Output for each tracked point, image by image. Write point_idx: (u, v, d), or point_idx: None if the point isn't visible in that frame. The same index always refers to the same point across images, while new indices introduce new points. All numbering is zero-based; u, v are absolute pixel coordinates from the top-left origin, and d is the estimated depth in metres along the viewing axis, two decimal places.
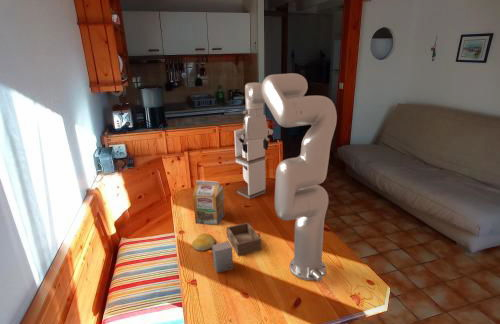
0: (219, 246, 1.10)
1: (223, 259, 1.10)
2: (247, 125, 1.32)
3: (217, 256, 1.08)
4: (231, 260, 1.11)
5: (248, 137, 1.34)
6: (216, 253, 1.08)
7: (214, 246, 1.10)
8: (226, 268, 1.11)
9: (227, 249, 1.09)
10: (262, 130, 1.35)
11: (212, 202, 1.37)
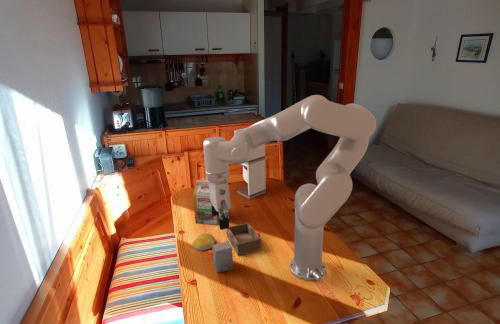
0: (219, 246, 1.10)
1: (223, 259, 1.10)
2: (229, 192, 1.00)
3: (217, 256, 1.08)
4: (231, 260, 1.11)
5: (230, 206, 1.02)
6: (216, 253, 1.08)
7: (214, 246, 1.10)
8: (226, 268, 1.11)
9: (227, 249, 1.09)
10: None
11: None
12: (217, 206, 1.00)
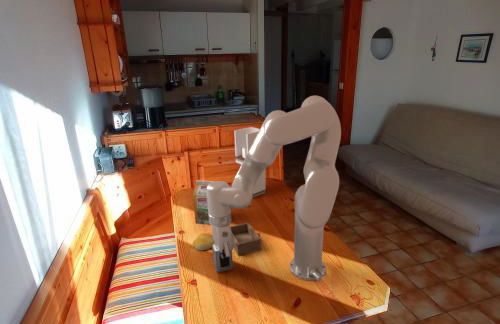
0: None
1: None
2: (231, 234, 1.05)
3: (217, 256, 1.08)
4: (231, 260, 1.11)
5: (232, 246, 1.07)
6: (216, 253, 1.08)
7: (214, 246, 1.10)
8: (226, 268, 1.11)
9: None
10: None
11: None
12: (220, 247, 1.04)
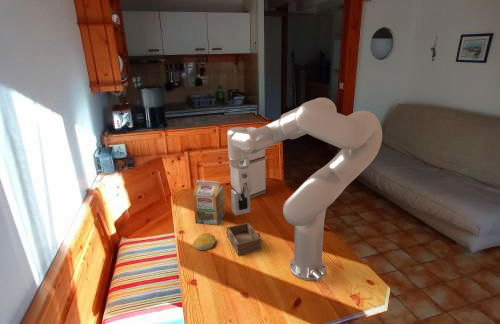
0: None
1: None
2: (250, 176, 1.13)
3: (236, 199, 1.16)
4: (248, 203, 1.19)
5: None
6: (235, 195, 1.16)
7: (233, 190, 1.18)
8: (244, 211, 1.19)
9: None
10: None
11: (212, 202, 1.37)
12: (240, 188, 1.13)
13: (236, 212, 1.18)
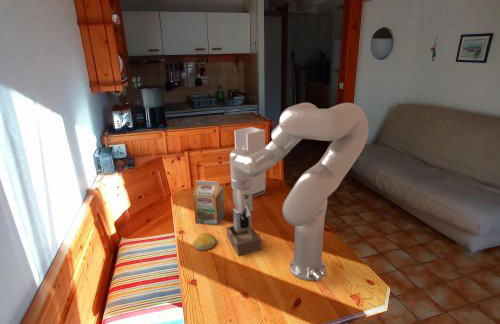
0: None
1: None
2: (251, 196, 1.17)
3: (238, 218, 1.20)
4: (250, 222, 1.23)
5: None
6: (237, 215, 1.19)
7: (235, 209, 1.22)
8: (245, 229, 1.23)
9: None
10: None
11: (212, 202, 1.37)
12: (241, 209, 1.16)
13: (238, 230, 1.22)
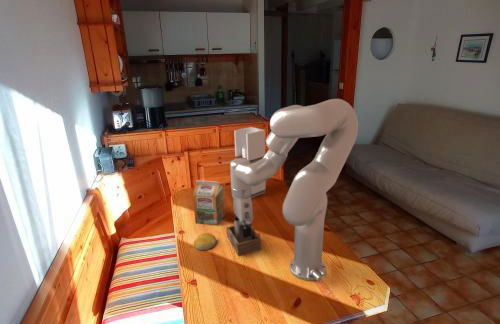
0: (240, 222, 1.23)
1: None
2: (251, 205, 1.18)
3: (239, 230, 1.22)
4: (251, 235, 1.24)
5: None
6: (238, 228, 1.21)
7: (236, 222, 1.24)
8: None
9: None
10: None
11: (212, 202, 1.37)
12: (242, 217, 1.17)
13: None
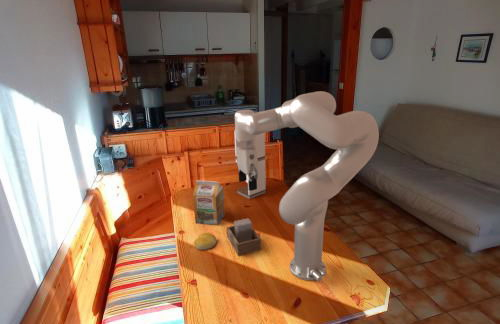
0: (240, 222, 1.23)
1: (243, 233, 1.23)
2: None
3: (239, 230, 1.22)
4: (251, 235, 1.24)
5: None
6: (238, 228, 1.21)
7: (236, 222, 1.24)
8: None
9: (247, 224, 1.22)
10: None
11: (212, 202, 1.37)
12: (247, 169, 1.16)
13: None
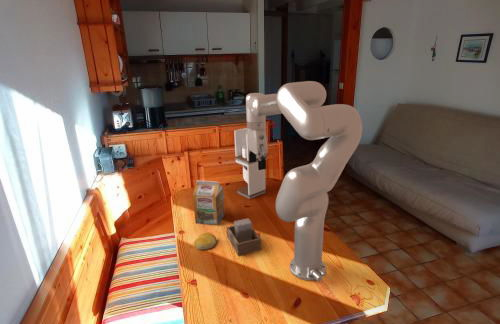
0: (240, 222, 1.23)
1: (243, 233, 1.23)
2: None
3: (239, 230, 1.22)
4: (251, 235, 1.24)
5: None
6: (238, 228, 1.21)
7: (236, 222, 1.24)
8: None
9: (247, 224, 1.22)
10: None
11: (212, 202, 1.37)
12: (257, 149, 1.22)
13: None
